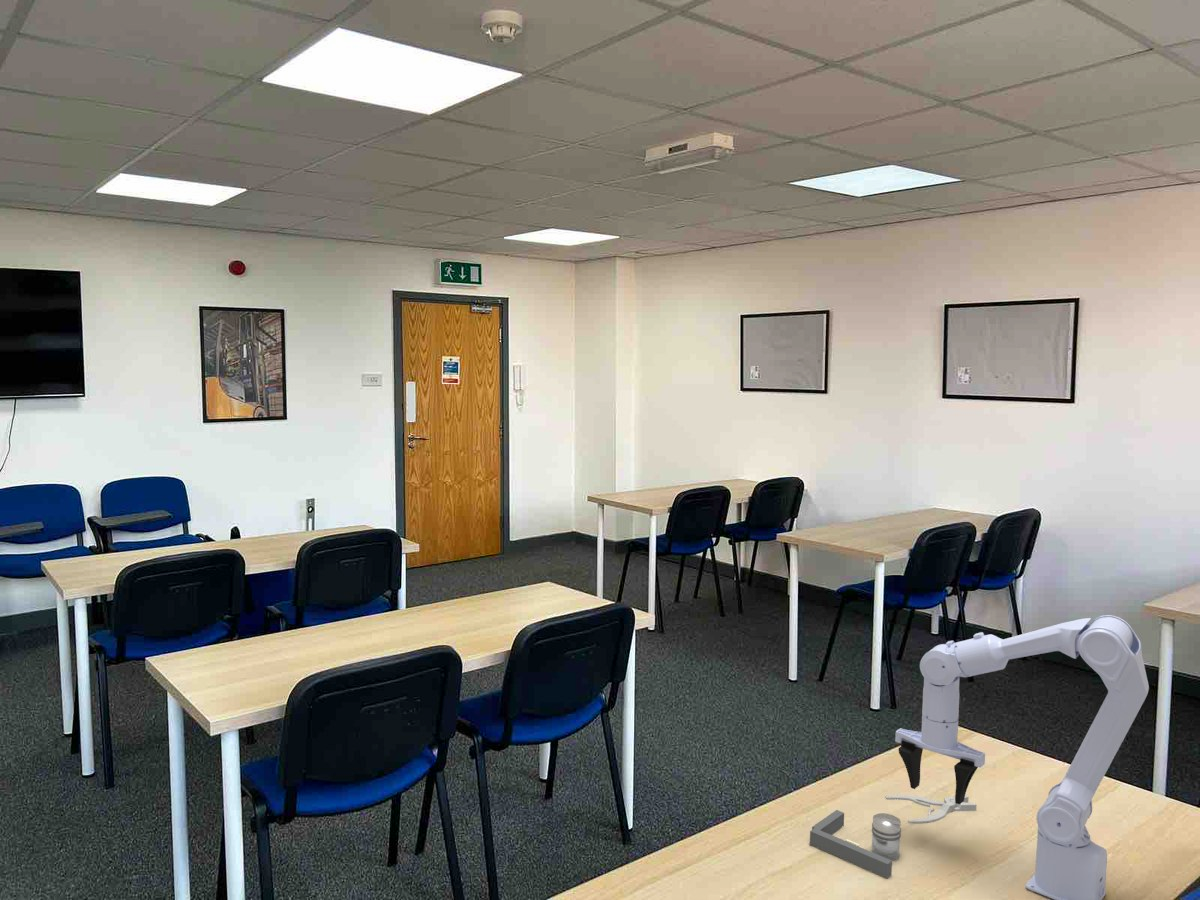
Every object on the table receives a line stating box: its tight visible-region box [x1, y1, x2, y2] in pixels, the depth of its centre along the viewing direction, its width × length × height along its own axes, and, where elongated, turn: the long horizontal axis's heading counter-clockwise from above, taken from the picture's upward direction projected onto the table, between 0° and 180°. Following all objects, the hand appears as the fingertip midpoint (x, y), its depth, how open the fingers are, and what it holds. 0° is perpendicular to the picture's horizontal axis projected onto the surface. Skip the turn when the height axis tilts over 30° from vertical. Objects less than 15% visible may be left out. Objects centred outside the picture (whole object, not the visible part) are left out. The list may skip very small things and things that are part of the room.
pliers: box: [884, 794, 977, 825], centre depth 159 cm, size 10×2×15 cm
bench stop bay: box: [809, 809, 893, 879], centre depth 144 cm, size 14×10×2 cm
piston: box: [871, 812, 902, 862], centre depth 143 cm, size 5×5×6 cm
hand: (936, 794), depth 145 cm, fingers open, 7 cm apart
